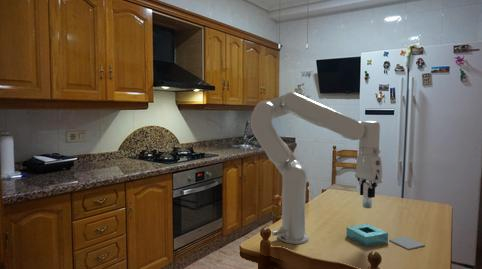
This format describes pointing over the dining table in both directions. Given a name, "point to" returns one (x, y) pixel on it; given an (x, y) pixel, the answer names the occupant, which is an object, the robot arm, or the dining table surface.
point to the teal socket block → (367, 235)
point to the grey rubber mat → (407, 242)
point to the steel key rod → (366, 196)
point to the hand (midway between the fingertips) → (367, 195)
